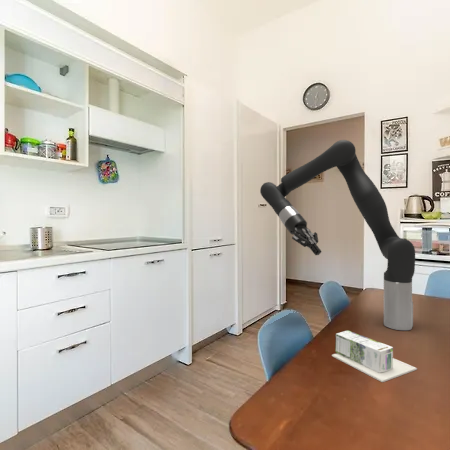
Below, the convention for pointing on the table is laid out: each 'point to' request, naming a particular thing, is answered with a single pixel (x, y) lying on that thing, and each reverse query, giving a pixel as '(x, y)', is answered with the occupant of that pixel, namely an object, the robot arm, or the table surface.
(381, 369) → the syrup box
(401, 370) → the off-white mat
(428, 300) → the table surface
